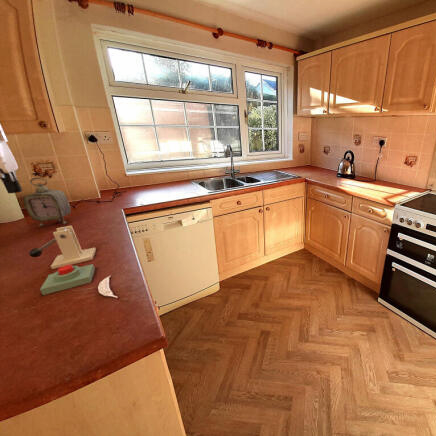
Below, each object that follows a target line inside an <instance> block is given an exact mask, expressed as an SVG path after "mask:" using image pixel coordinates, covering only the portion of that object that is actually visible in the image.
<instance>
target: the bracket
mask: <svg viewBox="0 0 436 436" xmlns="http://www.w3.org/2000/svg"><path fill="white" fill-rule="evenodd" d="M65 228H67V229H68V230H64V229H65ZM70 231H71V232H72V233H71V232H70ZM52 234H53V236H54V238H55V239H56V244H57V245H58V247H59V251H60V252H61V254H58V255H57V256H56V257H55V259H54V260H53V262H52V263H51V265H50V268H51V270H55V269H59V268H60V267H62V266H65V265H76V264H80V263H84V262H88V261H91V260H93V259H94V257H95V254H96V251H97V249H96V247H90V248H86V249H82V247H81V244H80V242H79V239H78V237H77V234H76V233H75V230H74V227H73V226H72V225H67V226H62V227H57V228H56V231H53V232H52Z"/></svg>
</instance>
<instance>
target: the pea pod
mask: <svg viewBox="0 0 436 436" xmlns="http://www.w3.org/2000/svg"><path fill="white" fill-rule="evenodd" d="M111 277H112V275H109V276H107V277H105V278H104V279H102V280H101V281H100V282H99V284H98V286H97V289H98V293H99V294H101V295H103V296H105V297H113V298H116V299H118V298H119V297H118V296H116V295H114V293H113V291H112V290H111V288H110V278H111Z"/></svg>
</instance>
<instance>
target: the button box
mask: <svg viewBox="0 0 436 436" xmlns="http://www.w3.org/2000/svg"><path fill="white" fill-rule="evenodd" d="M72 267H73V269H74V270H73V271H72V272H70V273H68V274H65V275H60V274H59V272H58V270H57V271H55V272H54V273H51V274H48V275H47V277H46V279H45V281H44V282H43V283H42V285H41V287H40V288H39V291H40V293H41V294H42V296H45V295H49V294H52V293H57V292H60V291H64V290H67V289H71V288H75V287H78V286H82V285H86V284H89V283H92V280H93V277H94V274H95V270H96V268H95V265H94V264H93V263H92V264H88V265H84V266H78V265H72Z"/></svg>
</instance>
